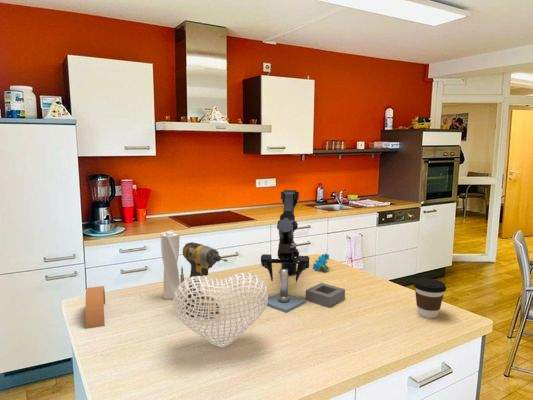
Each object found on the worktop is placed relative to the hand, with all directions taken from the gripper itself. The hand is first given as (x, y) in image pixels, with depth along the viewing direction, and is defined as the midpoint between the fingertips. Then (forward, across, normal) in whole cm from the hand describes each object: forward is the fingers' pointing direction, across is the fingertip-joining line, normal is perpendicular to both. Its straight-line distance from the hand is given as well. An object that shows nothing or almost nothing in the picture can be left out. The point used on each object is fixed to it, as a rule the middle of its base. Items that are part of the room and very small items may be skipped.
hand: (284, 281), depth 150 cm
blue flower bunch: (-23, +15, +37) cm, 46 cm away
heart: (+30, -16, -17) cm, 38 cm away
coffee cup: (+9, +52, +4) cm, 53 cm away
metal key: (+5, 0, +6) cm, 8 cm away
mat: (+6, 0, +7) cm, 9 cm away
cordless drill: (+15, -27, -2) cm, 31 cm away
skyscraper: (+5, -44, +8) cm, 45 cm away
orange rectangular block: (+19, -66, -6) cm, 69 cm away
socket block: (+2, +16, +11) cm, 19 cm away
